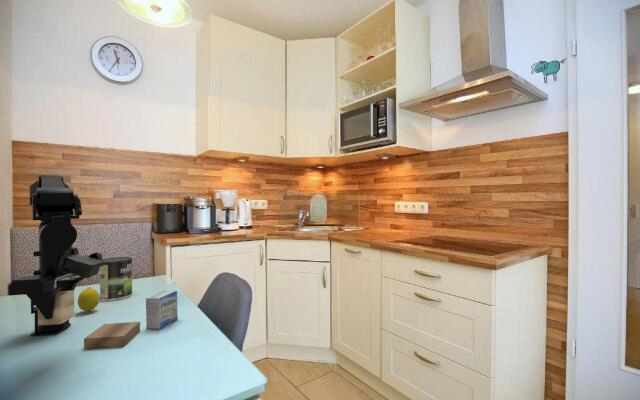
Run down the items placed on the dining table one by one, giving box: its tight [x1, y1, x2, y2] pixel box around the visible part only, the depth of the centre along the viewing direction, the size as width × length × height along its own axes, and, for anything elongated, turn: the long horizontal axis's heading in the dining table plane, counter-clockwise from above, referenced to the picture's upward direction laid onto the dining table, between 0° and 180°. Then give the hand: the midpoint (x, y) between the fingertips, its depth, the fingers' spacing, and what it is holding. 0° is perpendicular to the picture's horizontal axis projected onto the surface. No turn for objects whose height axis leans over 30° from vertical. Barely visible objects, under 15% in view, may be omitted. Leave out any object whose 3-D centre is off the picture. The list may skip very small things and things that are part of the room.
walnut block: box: [83, 321, 141, 350], centre depth 80 cm, size 9×9×3 cm
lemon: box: [77, 287, 100, 313], centre depth 100 cm, size 6×6×8 cm
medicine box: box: [145, 289, 178, 330], centre depth 91 cm, size 8×4×9 cm, turn 168°
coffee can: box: [99, 256, 133, 302], centre depth 116 cm, size 10×10×14 cm
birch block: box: [38, 289, 75, 325], centre depth 69 cm, size 4×4×6 cm
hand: (56, 315), depth 69 cm, fingers closed on birch block, 4 cm apart
